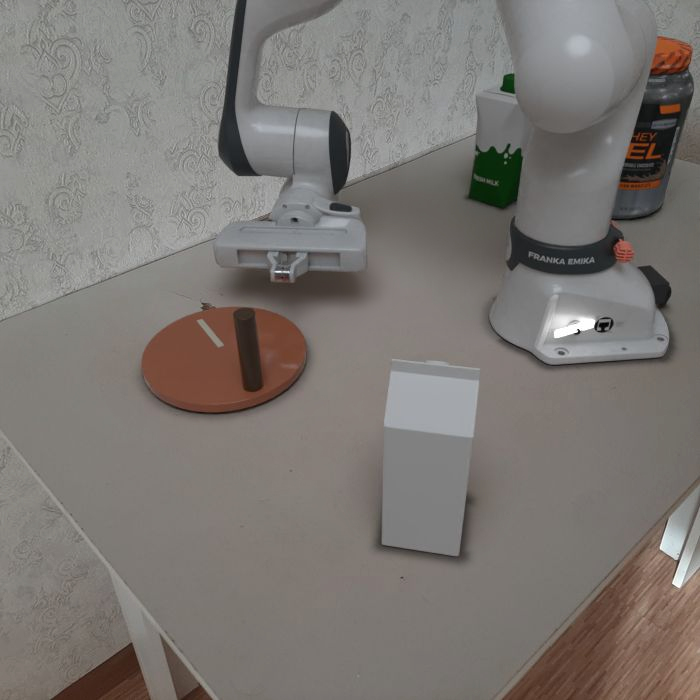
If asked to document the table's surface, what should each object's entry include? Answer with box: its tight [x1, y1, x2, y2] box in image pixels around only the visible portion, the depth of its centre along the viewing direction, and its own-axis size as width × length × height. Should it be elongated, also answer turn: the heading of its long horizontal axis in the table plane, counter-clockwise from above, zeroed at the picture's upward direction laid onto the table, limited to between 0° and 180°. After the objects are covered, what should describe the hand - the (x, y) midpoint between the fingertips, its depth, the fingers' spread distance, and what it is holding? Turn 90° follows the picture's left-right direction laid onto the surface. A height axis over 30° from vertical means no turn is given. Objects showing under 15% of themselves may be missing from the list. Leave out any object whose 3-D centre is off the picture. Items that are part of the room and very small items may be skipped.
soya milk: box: [468, 72, 534, 209], centre depth 120 cm, size 9×9×20 cm
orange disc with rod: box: [140, 306, 307, 413], centre depth 85 cm, size 20×20×11 cm
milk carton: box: [381, 358, 482, 557], centre depth 62 cm, size 7×7×19 cm
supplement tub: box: [611, 35, 695, 220], centre depth 116 cm, size 16×16×26 cm
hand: (282, 277), depth 88 cm, fingers closed
